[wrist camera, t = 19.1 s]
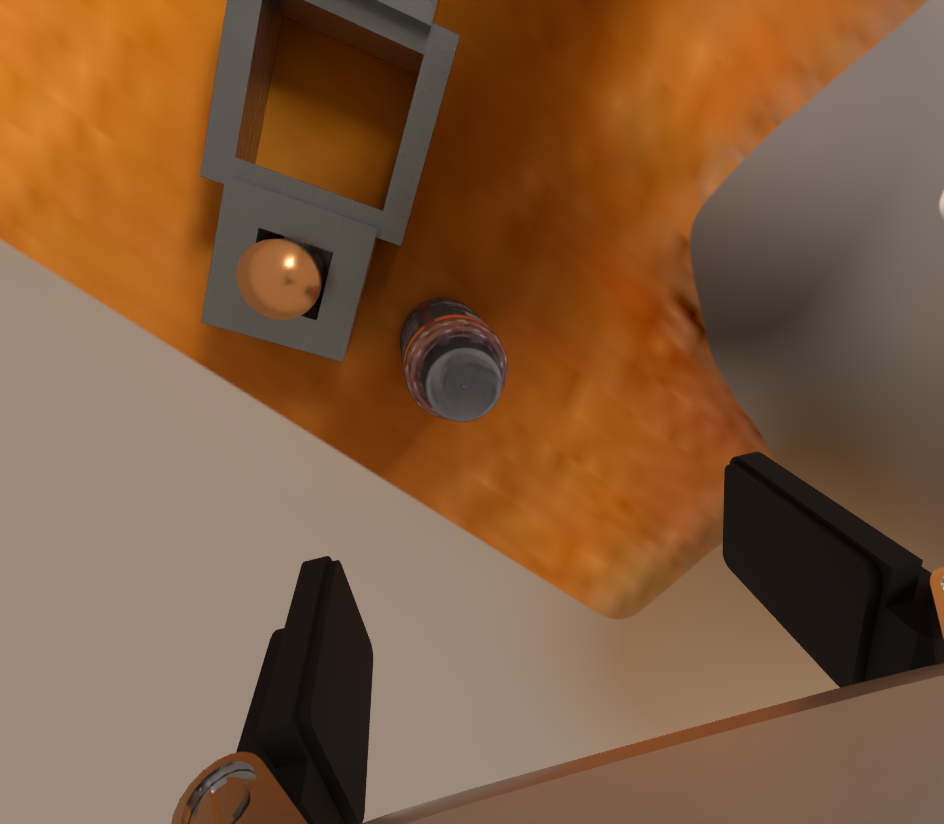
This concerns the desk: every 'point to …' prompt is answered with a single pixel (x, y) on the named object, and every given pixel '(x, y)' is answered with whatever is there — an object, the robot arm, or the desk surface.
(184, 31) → the desk surface
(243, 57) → the housing
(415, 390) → the supplement bottle
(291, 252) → the plunger
